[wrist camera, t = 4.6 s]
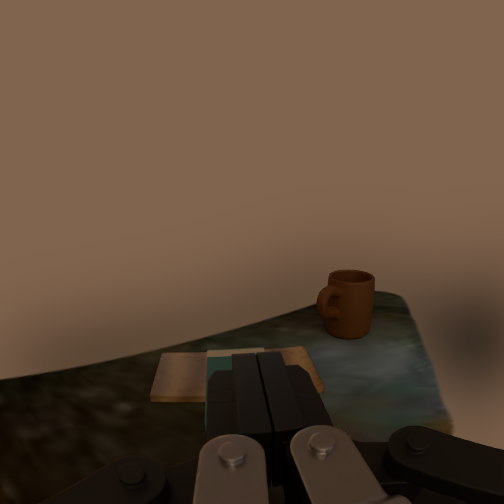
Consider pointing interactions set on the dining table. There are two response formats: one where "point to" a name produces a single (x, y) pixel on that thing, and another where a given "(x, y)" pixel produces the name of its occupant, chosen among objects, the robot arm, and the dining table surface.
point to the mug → (347, 303)
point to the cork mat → (195, 369)
